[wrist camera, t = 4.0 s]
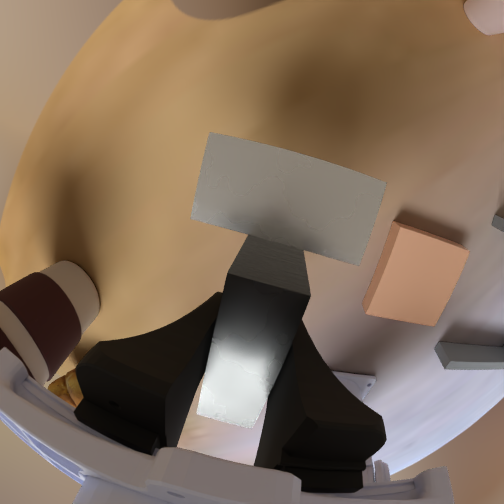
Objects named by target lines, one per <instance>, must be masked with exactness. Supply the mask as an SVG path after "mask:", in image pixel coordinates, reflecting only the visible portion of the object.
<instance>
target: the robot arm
mask: <svg viewBox="0 0 504 504" xmlns="http://www.w3.org/2000/svg"><path fill="white" fill-rule="evenodd" d="M222 294H223V293H221V292H217V293H215V294H214V295H213V296H212V297H210V298H209V299H208V300H207V301H205V302H204V303H203V304H202V305H200V306H199V307H197V308H196V309H195V310H193V311H192V312H190V313H188V314H187V315H185V316H183V317H182V318H180V319H178V320H177V321H175V322H173V323H171V324H169V325H166V326H164V327H162V328H160V329H157V330H154V331H151V332H148V333H145V334H142V335H138V336H134V337H129V338H124V339H118V340H110V341H99V342H98V343H97V344H96V345H95V346H94V347H93V348H92V349H91V350H90V351H89V352H88V353H87V354H86V355H85V356H84V358H83V359H82V360H81V361H80V362H79V364H78V365H77V366H76V370H75V372H76V377H77V380H78V383H79V386H80V389H81V392H82V394H83V399H82V400H81V402H80V403H79V404H78V406H77V407H76V408H75V407H73V406H72V405H70V404H68V403H67V402H65V401H64V400H62V399H61V398H59V397H58V396H56V395H55V394H53V393H52V392H51V391H49V390H48V389H46V388H45V387H43V386H42V385H41V384H39V383H38V382H37V381H35V380H34V379H33V378H32V377H30V376H29V375H28V372H27V369H26V367H25V366H24V364H23V363H22V361H21V360H20V359H19V358H18V357H16V356H15V355H14V354H13V353H12V352H10V351H9V350H8V349H7V348H6V347H4V348H3V349H2V350H0V420H1V421H2V422H3V423H4V424H6V425H7V426H8V427H9V428H10V429H11V430H12V431H13V432H14V433H15V434H16V435H17V436H18V437H19V438H20V439H22V440H23V441H24V442H25V443H26V444H27V445H28V446H30V447H31V448H32V449H33V450H35V451H36V452H37V453H38V454H39V455H41V456H42V457H43V458H44V459H46V460H47V461H48V462H49V463H51V464H52V465H53V466H55V467H56V468H58V469H59V470H61V471H62V472H63V473H65V474H66V475H68V476H69V477H70V478H72V479H74V480H75V481H77V482H78V483H80V484H81V485H82V486H81V488H80V490H79V492H78V494H77V496H76V497H75V500H74V501H73V503H72V504H455V503H454V498H453V492H452V488H451V483H450V479H449V475H448V470H447V467H446V466H443V467H438V468H432V469H428V470H426V471H423V472H421V473H420V474H418V475H417V476H416V477H415V478H412V479H406V480H397V481H390V474H389V468H388V464H386V463H384V462H382V460H377V461H374V464H375V478H374V468H373V462H372V455H374V454H375V453H376V452H377V451H378V450H379V449H380V448H381V447H382V446H383V445H384V444H385V442H386V433H385V427H384V422H383V419H382V416H381V415H379V414H378V413H376V412H375V411H373V410H372V409H371V408H369V407H368V406H366V405H365V404H364V403H363V401H362V400H363V399H364V398H365V396H366V395H367V394H368V392H369V391H370V389H371V388H372V386H373V385H374V384H375V382H376V377H375V376H368V375H359V374H350V373H342V372H335V371H331V370H330V368H329V367H328V366H327V364H326V363H325V362H324V360H323V359H322V357H321V355H320V354H319V352H318V351H317V349H316V347H315V345H314V343H313V341H312V340H311V338H310V336H309V334H308V332H307V329H306V327H305V325H304V323H303V321H302V320H301V322H300V325H299V327H298V330H297V332H296V335H295V337H294V339H293V342H292V344H291V346H290V349H289V351H288V353H287V356H286V358H285V360H284V363H283V365H282V367H281V369H280V372H279V374H278V376H277V378H276V381H275V383H274V385H273V387H272V389H271V391H270V393H269V396H268V400H267V409H266V414H265V419H264V424H263V429H262V434H261V438H260V443H259V447H258V451H257V455H256V459H255V463H254V466H251V465H246V464H241V463H236V462H232V461H228V460H224V459H220V458H216V457H212V456H209V455H205V454H202V453H198V452H195V451H191V450H187V449H182V448H178V447H177V444H178V441H179V438H180V435H181V432H182V429H183V426H184V423H185V421H186V418H187V415H188V412H189V409H190V406H191V404H192V401H193V398H194V395H195V393H196V390H197V388H198V385H199V383H200V381H201V379H202V377H203V375H204V373H205V371H206V366H207V361H208V357H209V352H210V347H211V343H212V338H213V334H214V329H215V325H216V320H217V316H218V312H219V307H220V303H221V298H222Z"/></svg>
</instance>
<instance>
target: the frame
mask: <svg viewBox="0 0 504 504" xmlns="http://www.w3.org/2000/svg"><path fill="white" fill-rule="evenodd" d="M492 226H494V227H495V228H497V229H499V230H501V231H503V232H504V219H503V218H501V217H499V216H497V215H495V216H494V219H493V223H492ZM434 350H435V352H436V353H437V355H438V357H439V359H440V361H441V363H442V365H443V367H444V369H451V370H491V369H504V345H503V347H495V346H481V345H469V344H459V343H449V342H440V341H439V342H438V344H437V346H436V347H435V349H434Z"/></svg>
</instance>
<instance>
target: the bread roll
mask: <svg viewBox="0 0 504 504" xmlns="http://www.w3.org/2000/svg"><path fill="white" fill-rule="evenodd" d="M75 370H76V368H75V369H73V370H71V371H69V372H68V373H67V374H66V375H64V376H62V377H60V378H58V379H56V380H55V381H54V382H52V383H51V384H50V385H49V386H48V390H49V391H51V392H52V393H53V394H55V395H56V396H58V397H59V398H61V399H62V400H64V401H65V402H67V403H68V404H70V405H72V406H73V407H75V408H76V407H77V406H78V404H79V403H80V402H81V400H82V399H83V394H82V392H81V389H80V386H79V383H78V380H77V377H76V372H75Z"/></svg>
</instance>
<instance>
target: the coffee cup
mask: <svg viewBox="0 0 504 504" xmlns="http://www.w3.org/2000/svg"><path fill="white" fill-rule="evenodd" d="M99 308H100V304H99V297H98V293H97V290H96V288H95V286H94V284H93V282H92V281H91V279H90V277H89V276H88V275H87V274H86V273H85V271H84V270H83V269H82V268H80V267H79V266H78V265H76V264H74V263H72V262H70V261H60V262H57V263H55V264H53V265H51V266H50V267H48V268H46V269H44V270H42V271H40V272H34V273H32V274H30V275H28V276H26V277H24V278H22V279H21V280H19V281H17V282H15V283H13V284H12V285H10V286H8V287H6V288H5V289H3V290H1V291H0V350H2V349H3V348H4V347H6V348H7V349H8V350H9V351H10V352H12V353H13V354H14V355H15V356H16V357H18V358H19V359H20V360H21V361H22V363H23V364H24V366H25V367H26V369H27V372H28V375H29V376H30V377H32V378H33V379H34V380H35V381H37V382H38V383H39V384H41V385H42V386H43V385H44V384H45V382H46V381H49V380H51V378H52V377H53V376H54V374H55V373H56V372H57V370H58V369H59V368H60V366H61V365H62V364H63V362H64V361H65V360H66V358H67V357H68V356H69V354H70V353H71V352H72V350H73V349H74V348H75V346H76V345H77V344H78V343H79V341H80V339H81V335H82V334H83V333H84V332H85V330H86V329H87V328H88V327H89V326H90V324H91V323H92V322H93V321H94V320H95V318H96V317H97V315H98V313H99Z"/></svg>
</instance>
